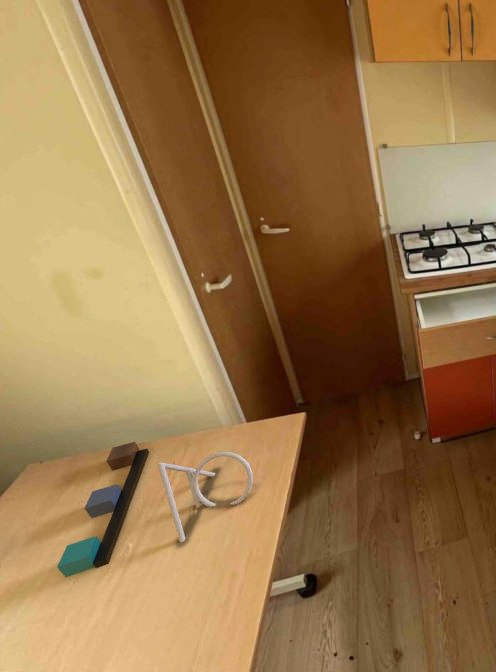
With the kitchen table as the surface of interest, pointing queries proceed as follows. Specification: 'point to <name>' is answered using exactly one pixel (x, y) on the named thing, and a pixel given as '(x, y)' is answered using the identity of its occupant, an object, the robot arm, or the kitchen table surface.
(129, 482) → the straightedge
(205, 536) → the kitchen table surface
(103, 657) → the kitchen table surface
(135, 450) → the walnut block
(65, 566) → the teal block
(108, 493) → the slate block
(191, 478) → the wire frame
